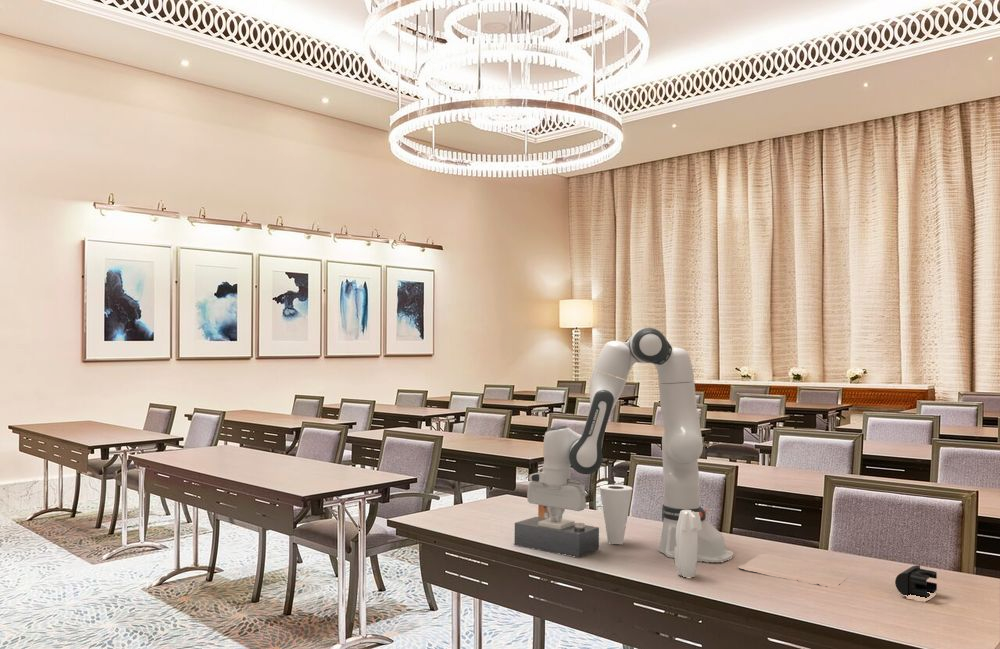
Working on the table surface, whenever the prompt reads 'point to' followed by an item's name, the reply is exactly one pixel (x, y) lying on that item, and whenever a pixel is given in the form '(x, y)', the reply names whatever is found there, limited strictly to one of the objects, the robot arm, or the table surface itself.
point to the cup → (615, 510)
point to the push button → (556, 523)
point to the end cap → (916, 582)
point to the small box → (545, 512)
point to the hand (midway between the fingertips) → (555, 521)
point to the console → (557, 537)
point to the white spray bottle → (687, 542)
